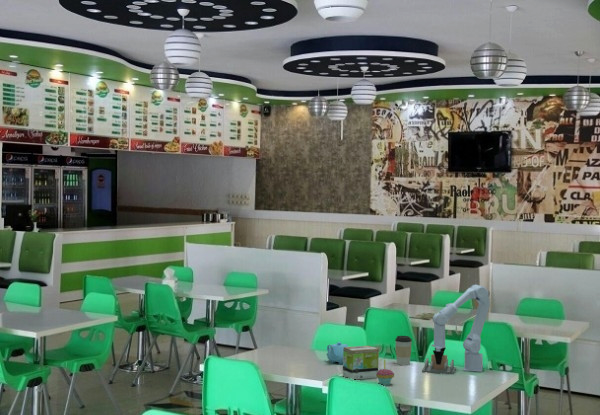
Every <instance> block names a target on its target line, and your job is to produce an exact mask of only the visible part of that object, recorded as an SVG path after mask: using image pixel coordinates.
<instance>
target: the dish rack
mask: <svg viewBox="0 0 600 415" xmlns="http://www.w3.org/2000/svg"><path fill="white" fill-rule="evenodd" d="M429 361H430V360H429V357H426V359H425V360H424V365H423V368H422V370H421V372H422V373H425V372H427V374H428V373H429V374H440V373H442V375H455V372H456V369H457V367H456V366H455V359H451V362H450V364H449V359H448V358H447V362H445V363H444V369H433V361H431V362H429ZM429 363H430V364H429ZM449 365H450V366H449Z"/></svg>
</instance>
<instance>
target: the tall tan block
mask: <svg viewBox="0 0 600 415" xmlns="http://www.w3.org/2000/svg"><path fill="white" fill-rule="evenodd" d="M430 355H431V356H430V357H431V358H430V359H431V361H433V369H444V363H445V362H447V359H448V355H447V354H443V356H442V361H441V365H438V364H436V359H435V355H434V353H433V354H430Z"/></svg>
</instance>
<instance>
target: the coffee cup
mask: <svg viewBox="0 0 600 415" xmlns="http://www.w3.org/2000/svg"><path fill="white" fill-rule="evenodd" d="M394 341H395V346H394V347H395V356H396V365H398V364H399V366H409V365H410V364H411V362H410V360H411V355H412V342H413V340H412V338H411V337H410V336H409V335H397V336H396V338H395V339H394Z"/></svg>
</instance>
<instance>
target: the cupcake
mask: <svg viewBox="0 0 600 415" xmlns="http://www.w3.org/2000/svg"><path fill="white" fill-rule="evenodd" d="M386 364H387V363H386V358H384V360H383V368H382V369H381V368H380V369H378V372H377V374H376V376H377V377H378V378H377V379H378V382H379V385H381V384H383V385H382V386H390V385H391V382H392V379H393V378H394V377H395V373H394V372H393V370H391V369H387V366H386Z"/></svg>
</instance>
